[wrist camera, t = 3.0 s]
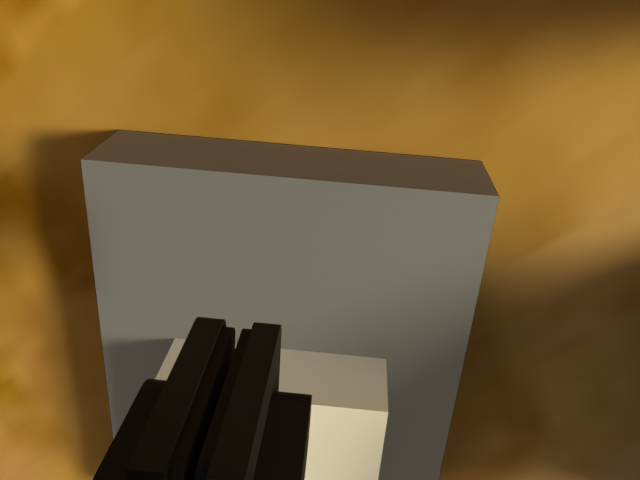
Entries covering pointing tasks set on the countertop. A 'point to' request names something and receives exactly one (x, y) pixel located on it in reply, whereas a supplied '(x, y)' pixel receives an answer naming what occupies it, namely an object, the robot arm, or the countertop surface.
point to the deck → (293, 263)
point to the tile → (333, 409)
